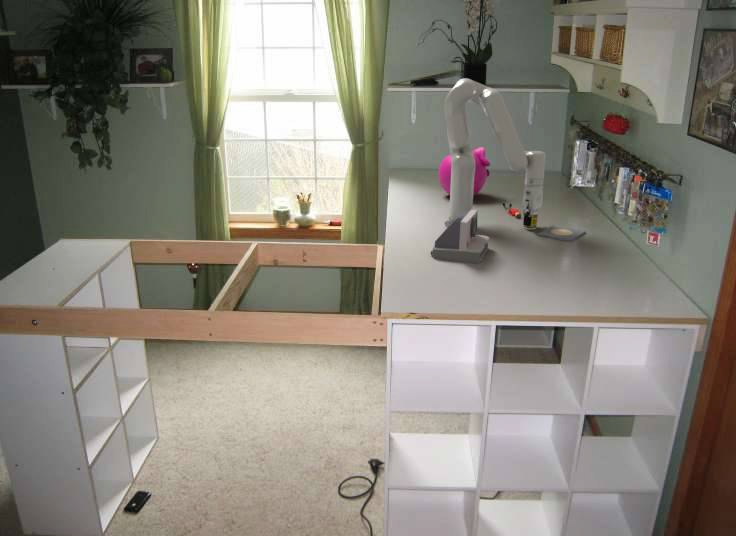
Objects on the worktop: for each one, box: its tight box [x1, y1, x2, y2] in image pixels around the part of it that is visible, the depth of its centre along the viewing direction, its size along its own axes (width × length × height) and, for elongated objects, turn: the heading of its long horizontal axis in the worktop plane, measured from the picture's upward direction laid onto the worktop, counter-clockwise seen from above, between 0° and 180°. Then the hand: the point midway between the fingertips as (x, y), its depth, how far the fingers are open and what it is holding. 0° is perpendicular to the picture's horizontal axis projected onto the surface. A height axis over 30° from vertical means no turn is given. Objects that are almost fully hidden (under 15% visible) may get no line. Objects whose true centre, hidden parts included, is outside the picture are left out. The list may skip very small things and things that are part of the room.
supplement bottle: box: [522, 208, 539, 231], centre depth 275 cm, size 5×5×10 cm
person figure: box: [502, 202, 522, 219], centre depth 299 cm, size 5×4×18 cm
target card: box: [537, 224, 587, 243], centre depth 269 cm, size 16×14×1 cm
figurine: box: [438, 146, 491, 197], centre depth 324 cm, size 23×24×25 cm
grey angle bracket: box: [430, 209, 490, 264], centre depth 243 cm, size 21×21×15 cm
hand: (530, 223), depth 276 cm, fingers closed on supplement bottle, 5 cm apart
